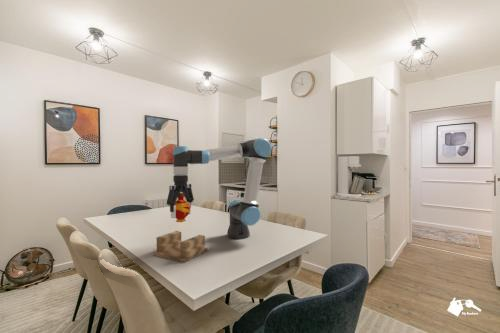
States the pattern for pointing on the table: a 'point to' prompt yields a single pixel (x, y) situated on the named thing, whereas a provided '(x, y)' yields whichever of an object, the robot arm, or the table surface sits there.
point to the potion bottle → (181, 208)
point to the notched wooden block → (180, 247)
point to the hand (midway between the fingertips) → (181, 215)
